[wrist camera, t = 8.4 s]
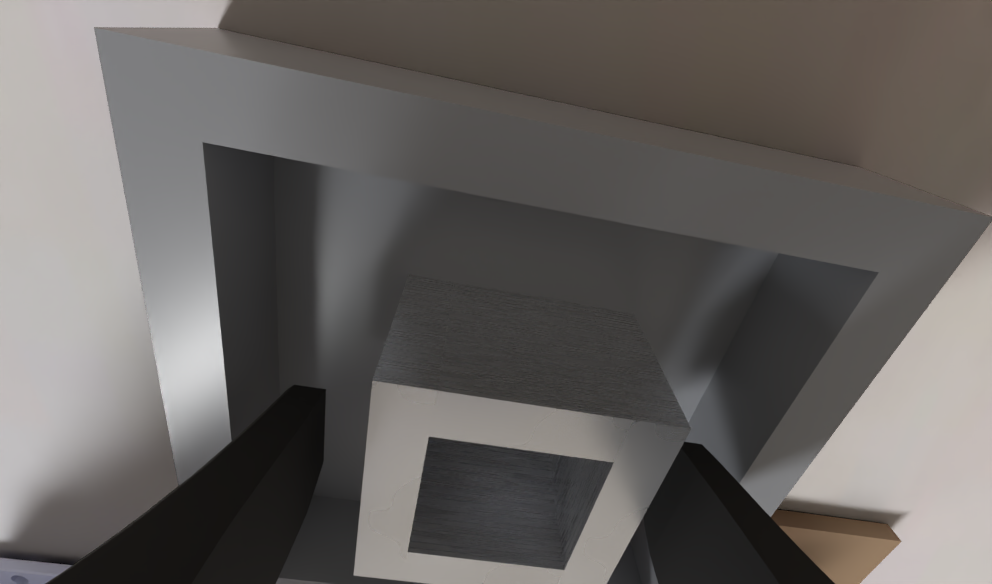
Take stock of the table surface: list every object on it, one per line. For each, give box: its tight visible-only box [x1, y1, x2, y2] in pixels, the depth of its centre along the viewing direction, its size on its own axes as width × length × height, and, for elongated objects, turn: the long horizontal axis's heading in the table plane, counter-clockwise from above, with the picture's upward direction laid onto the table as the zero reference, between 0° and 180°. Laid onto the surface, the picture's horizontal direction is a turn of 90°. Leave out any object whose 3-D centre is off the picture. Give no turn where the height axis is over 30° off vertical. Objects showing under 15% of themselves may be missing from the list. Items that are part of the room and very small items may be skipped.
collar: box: [354, 274, 691, 584], centre depth 10 cm, size 5×5×4 cm
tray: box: [94, 27, 992, 584], centre depth 11 cm, size 13×13×3 cm
